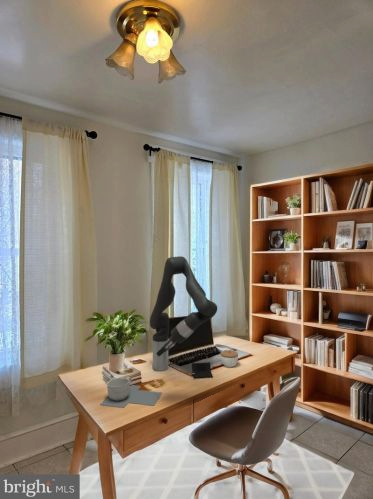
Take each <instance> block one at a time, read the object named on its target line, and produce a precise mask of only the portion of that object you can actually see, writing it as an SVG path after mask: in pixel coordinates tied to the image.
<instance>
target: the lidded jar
mask: <svg viewBox="0 0 373 499" xmlns="http://www.w3.org/2000/svg"><path fill="white" fill-rule="evenodd" d="M238 360H239V352H238V351H236V350H231V349H224V350H222V351H220V361H221V363H222V365H223V366H224V367H225V368H234V367H235V366H236V365H237V363H238Z"/></svg>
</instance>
